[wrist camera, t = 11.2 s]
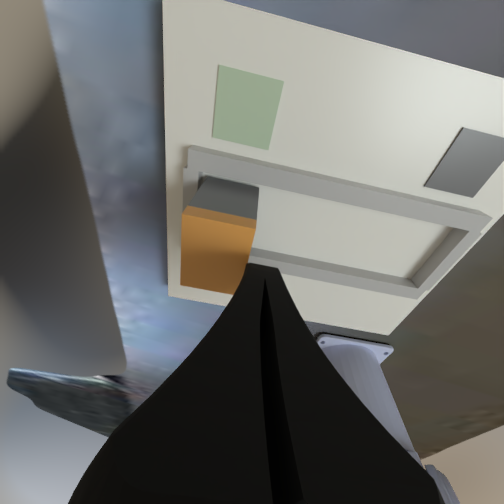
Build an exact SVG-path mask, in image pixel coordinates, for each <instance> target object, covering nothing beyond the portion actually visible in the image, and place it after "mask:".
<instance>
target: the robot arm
mask: <svg viewBox="0 0 504 504" xmlns="http://www.w3.org/2000/svg"><path fill="white" fill-rule="evenodd" d="M393 351H394V349H393V347H392V346H390V345H385V344H380V343H374V342H368V341H363V340H357V339H351V338H346V337H340V336H334V335H328V334H321V335H320V336H319V337H318V339H317V340H315V338H314V337H313V335H312V334H311V332H310V330H309V329H308V327H307V325H306V324H305V322H304V320H303V318H302V317H301V315H300V313H299V311H298V309H297V307H296V305H295V303H294V301H293V299H292V297H291V295H290V293H289V291H288V289H287V287H286V284H285V282H284V280H283V277H282V275H281V273H280V270H279V269H278V268H275V267H270V266H265V265H260V264H255V263H250V262H249V263H247V264H246V266H245V270H244V274H243V277H242V279H241V281H240V284H239V286H238V287H237V289H236V291H235V293H234V295H233V297H232V298H231V300H230V301H229V303H228V305H227V306H226V308H225V309H224V311H223V312H222V314H221V315H220V317H219V318H218V320H217V321H216V322H215V324H214V325H213V326H212V328H211V329H210V330H209V332H208V333H207V334H206V336H205V337H204V338H203V339H202V340H201V342H200V343H199V344H198V345H197V346H196V348H195V349H194V350H193V351H192V352H191V354H190V355H189V356H188V357H187V358H186V359H185V360H184V361H183V363H182V364H181V365H180V366H179V367H178V368H177V369H176V370H175V371H174V372H173V373H172V374H171V375H170V376H169V377H168V378H167V379H166V380H165V382H164V383H163V384H162V385H161V386H160V387H159V388H158V389H157V390H156V391H155V392H154V393H153V394H152V395H151V396H150V397H149V398H148V399H147V400H146V401H144V402H143V403H142V404H141V405H140V406H139V407H138V408H137V409H136V410H135V411H134V412H133V413H132V414H131V415H130V416H129V417H128V418H127V419H126V420H124V421H123V422H122V423H121V424H120V425H119V426H118V427H117V428H116V429H115V430H114V431H113V433H112V434H111V435H110V437H109V438H108V439H107V441H106V443H105V444H104V445H103V446H102V448H101V449H100V451H99V452H98V453H97V455H96V456H95V458H94V460H93V461H92V462H91V464H90V465H89V467H88V468H87V470H86V471H85V473H84V475H83V476H82V478H81V480H80V482H79V483H78V485H77V487H76V489H75V490H74V492H73V495H72V496H71V499H70V501H69V503H68V504H460V502H459V500H458V498H457V496H456V494H455V492H454V490H453V488H452V486H451V485H450V483H449V481H448V479H447V478H446V477H445V475H444V474H442V473H441V472H440V471H438V470H436V468H435V467H434V466H433V465H425V468H426V470H425V469H424V468H423V466H422V463H421V461H420V458H419V456H418V453H417V452H415V451H414V448H413V446H412V443H411V441H410V438H409V436H408V433H407V431H406V429H405V426H404V424H403V421H402V419H401V416H400V414H399V411H398V409H397V406H396V404H395V402H394V399H393V397H392V394H391V392H390V389H389V387H388V384H387V382H386V379H385V377H384V374H383V372H382V370H381V367H380V365H379V364H380V363H382V362H383V361H384V360H385V359H386V358H387V357H388V356H389V355H390V354H391V353H392V352H393Z"/></svg>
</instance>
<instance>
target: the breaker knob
mask: <svg viewBox="0 0 504 504" xmlns="http://www.w3.org/2000/svg"><path fill="white" fill-rule="evenodd" d="M258 198H259V187H255V186H251V185H246V184H242V183H237V182H232V181H228V180H223V179H219V178H214V177H210V176H207V178H206V179H205V181H204V182H203V184H202V185H201V187H200V188H199V189H198V191H197V192H196V194H195V195H194V197H193V198H192V200H191V201H190V203H189V204H188V205H187V207H186V208H185V210H184V211H183V213H182V224H181V267H180V285H181V286H187V287H192V288H198V289H203V290H209V291H214V292H220V293H225V294H231V295H234V293H235V291H236V289H237V287H238V286H239V284H240V281H241V279H242V277H243V274H244V270H245V266H246V264H247V263H248V259H249V255H250V251H251V247H252V243H253V239H254V235H255V231H256V223H257V210H258Z"/></svg>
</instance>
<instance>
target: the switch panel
mask: <svg viewBox="0 0 504 504" xmlns="http://www.w3.org/2000/svg"><path fill="white" fill-rule="evenodd" d="M162 3H163V52H164V102H165V151H166V201H167V250H168V296H172V297H177V298H183V299H188V300H194V301H200V302H205V303H211V304H216V305H222V306H227V305H228V303H229V301H230V300H231V298H232V297H233V295H231V294H225V293H220V292H214V291H209V290H203V289H198V288H192V287H187V286H181V285H180V267H181V224H182V213H183V211H184V210H185V208H186V207H187V205H188V204H189V203H190V201H191V200H192V198H193V197H194V195H195V194H196V192H197V191H198V189H199V188H200V187H201V185H202V184H203V182H204V181H205V179H206V178H207V176H210V177H214V178H219V179H223V180H228V181H232V182H237V183H242V184H246V185H251V186H255V187H259V198H258V210H257V223H256V231H255V235H254V239H253V243H252V247H251V251H250V255H249V259H248V263H249V262H250V263H255V264H260V265H265V266H270V267H275V268H278V269H279V270H280V273H281V275H282V277H283V280H284V282H285V284H286V287H287V289H288V291H289V293H290V295H291V297H292V299H293V301H294V303H295V305H296V307H297V309H298V311H299V313H300V315H301V317H302V318H303V320H306V321H311V322H317V323H322V324H328V325H334V326H339V327H345V328H350V329H356V330H361V331H367V332H373V333H378V334H384V335H389V334H390V333H391V332H392V331H393V330H394V329H395V328H396V327H397V326H398V325H399V324H400V323H401V322H402V320H403V319H404V318H405V317H406V316H407V315H408V314H409V313H410V312H411V311H412V310H413V309H414V308H415V307H416V306H417V305H418V304H419V303H420V301H421V300H422V299H423V298H424V297H425V296H426V295H427V294H428V293H429V292H430V291H431V290H432V289H433V288H434V287H435V286H436V285H437V284H438V283H439V281H440V280H441V279H442V278H443V277H444V276H445V275H446V274H447V273H448V272H449V271H450V270H451V269H452V268H453V267H454V266H455V265H456V264H457V263H458V261H459V260H460V259H461V258H462V257H463V256H464V255H465V254H466V253H467V252H468V251H469V250H470V249H471V248H472V247H473V246H474V245H475V244H476V243H477V241H478V240H479V239H480V238H481V237H482V236H483V235H484V234H485V233H486V232H487V231H488V230H489V229H490V228H491V227H492V226H493V225H494V224H495V223H496V221H497V220H498V219H499V218H500V217H501V216H502V215H503V214H504V78H500V77H497V76H493V75H490V74H486V73H482V72H479V71H475V70H472V69H468V68H464V67H461V66H457V65H454V64H450V63H447V62H443V61H439V60H436V59H432V58H429V57H425V56H421V55H418V54H414V53H411V52H407V51H403V50H400V49H396V48H393V47H389V46H385V45H382V44H378V43H375V42H371V41H367V40H364V39H360V38H357V37H353V36H349V35H346V34H342V33H339V32H335V31H331V30H328V29H324V28H321V27H317V26H313V25H310V24H306V23H303V22H299V21H295V20H292V19H288V18H285V17H281V16H277V15H274V14H270V13H267V12H263V11H259V10H256V9H252V8H249V7H245V6H241V5H238V4H234V3H231V2H227V1H223V0H162Z"/></svg>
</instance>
